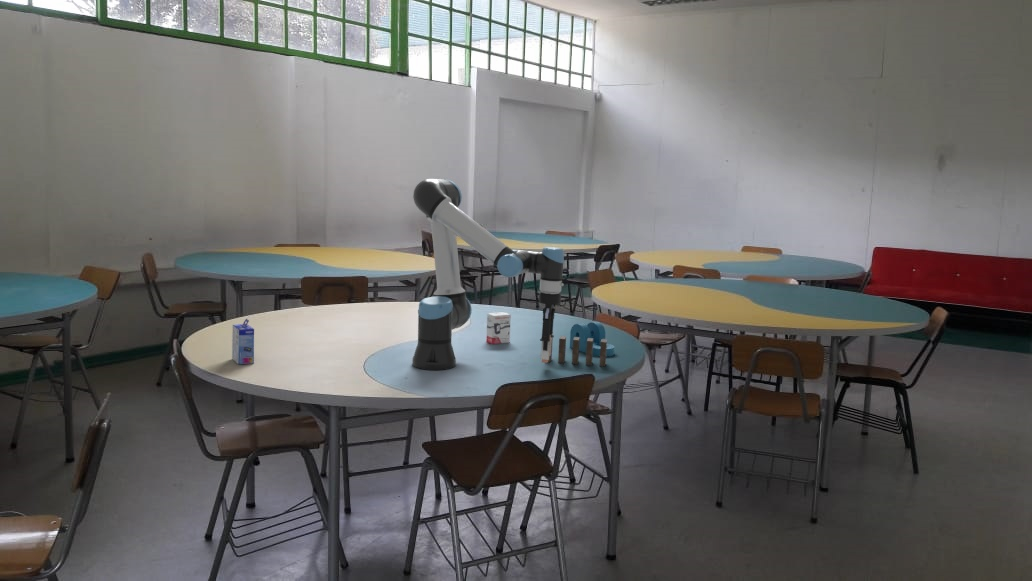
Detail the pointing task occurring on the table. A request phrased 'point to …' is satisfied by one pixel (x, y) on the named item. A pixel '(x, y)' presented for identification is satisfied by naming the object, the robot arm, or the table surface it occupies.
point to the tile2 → (551, 352)
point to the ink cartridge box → (243, 343)
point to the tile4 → (575, 350)
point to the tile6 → (603, 352)
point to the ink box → (498, 327)
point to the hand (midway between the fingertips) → (545, 357)
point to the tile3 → (562, 349)
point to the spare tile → (549, 353)
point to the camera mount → (590, 331)
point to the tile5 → (589, 351)
